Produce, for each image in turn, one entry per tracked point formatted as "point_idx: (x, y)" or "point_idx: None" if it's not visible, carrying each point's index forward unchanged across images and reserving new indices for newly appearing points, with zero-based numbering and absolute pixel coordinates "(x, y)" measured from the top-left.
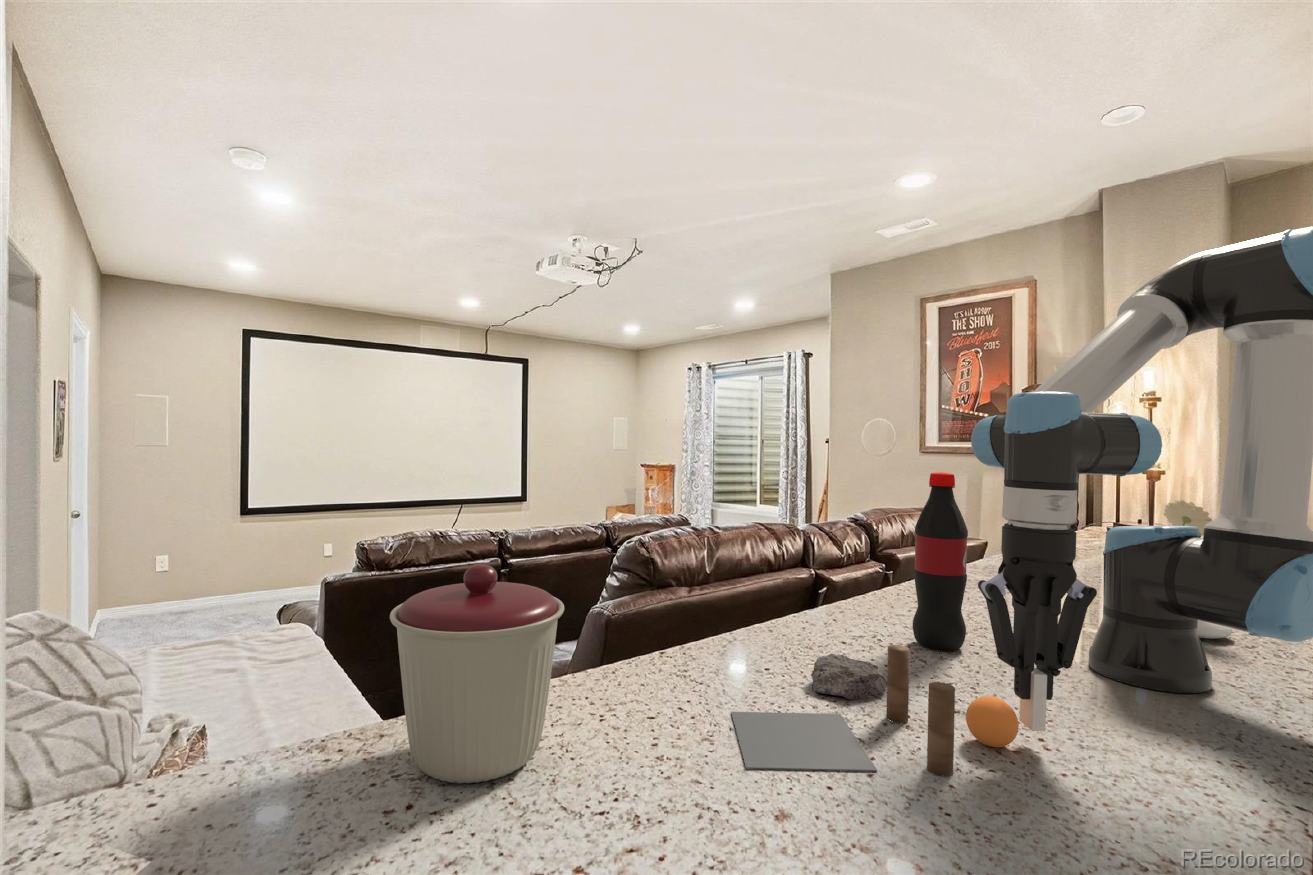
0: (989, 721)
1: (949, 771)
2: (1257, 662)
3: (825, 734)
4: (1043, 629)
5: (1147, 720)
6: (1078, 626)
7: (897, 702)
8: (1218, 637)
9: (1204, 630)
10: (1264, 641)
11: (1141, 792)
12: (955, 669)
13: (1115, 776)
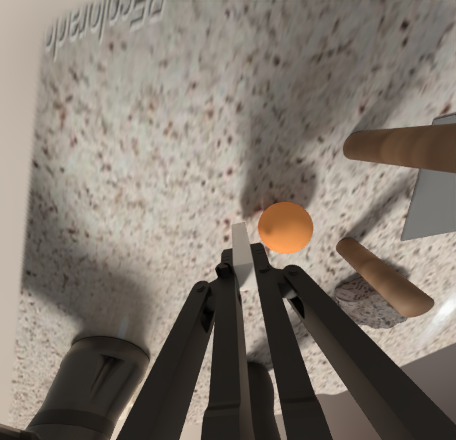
0: (300, 209)
1: (356, 133)
2: (38, 385)
3: (446, 192)
4: (241, 351)
5: (127, 292)
6: (159, 370)
7: (365, 249)
8: None
9: None
10: (30, 409)
11: (167, 153)
12: (251, 339)
13: (181, 182)
